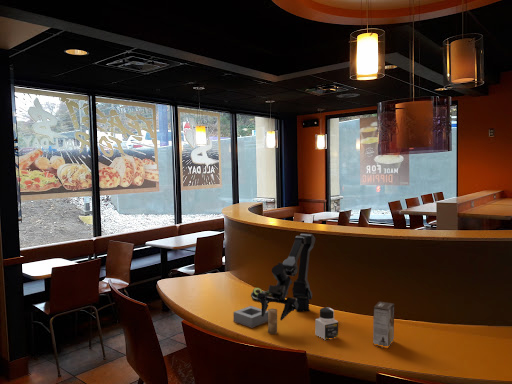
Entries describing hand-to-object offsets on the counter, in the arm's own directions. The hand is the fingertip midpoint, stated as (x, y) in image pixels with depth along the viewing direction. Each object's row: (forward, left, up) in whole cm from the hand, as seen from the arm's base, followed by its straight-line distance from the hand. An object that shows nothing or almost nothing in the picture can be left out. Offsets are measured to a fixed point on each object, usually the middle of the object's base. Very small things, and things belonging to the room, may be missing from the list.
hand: (271, 318), depth 173 cm
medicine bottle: (-24, +4, -7) cm, 25 cm away
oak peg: (-1, -1, -7) cm, 7 cm away
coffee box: (-46, +12, -7) cm, 48 cm away
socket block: (+8, -15, -7) cm, 18 cm away
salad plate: (-1, -52, -7) cm, 53 cm away
